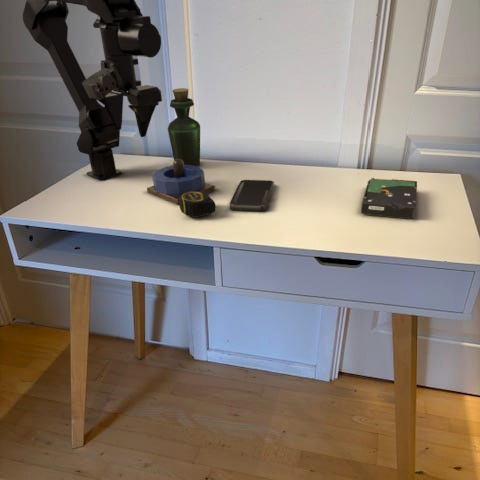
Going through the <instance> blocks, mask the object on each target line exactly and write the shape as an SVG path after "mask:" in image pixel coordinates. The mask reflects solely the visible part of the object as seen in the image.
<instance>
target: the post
mask: <svg viewBox="0 0 480 480" xmlns="http://www.w3.org/2000/svg"><path fill="white" fill-rule="evenodd" d="M172 166H173V169H174V178H182V177H185V170H184V162H183V161H182V160H181V159H175V160H174V159H173V162H172ZM200 191H206V192H207V194H210V193H213V192H215V191H216V185H214V184H211V183H209V182H206V181H205V185H204V186H203V188H202V189H201V190H198V191H196V192H200ZM146 192H147V194H150V195H152V196H155V197H157V198H159V199H162V200H165V201H167V202H170V203H173V204H175V205H177V206H179V200H180V197H181V196H182V195H166V194H162V193H159V192H157V191H156V190H155V188H154V185H151V186H147V187H146Z"/></svg>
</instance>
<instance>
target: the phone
mask: <svg viewBox="0 0 480 480" xmlns="http://www.w3.org/2000/svg"><path fill="white" fill-rule="evenodd" d="M274 188H275V181H274V180H268V179H267V180H265V179H242V180H240V181H239V183H238V186H237V187H236V189H235V192H234V193H233V195H232V197H231V200H230V202H229V209H230V210H232V211H247V212H265V211H267V210H268V207H269V203H270V201H271V197H272V194H273V192H274Z"/></svg>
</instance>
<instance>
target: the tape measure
mask: <svg viewBox="0 0 480 480" xmlns="http://www.w3.org/2000/svg"><path fill="white" fill-rule="evenodd" d="M178 206H179V210H180V211H181V213H182V214H183V215H185V216H187V217H193V218H194V217H195V218H199V217H203V216H206V215H209V214H213V213H215V212H216V210H217V205H216V202H215V201H214V199H213V198H211V197H210V195H209V193H207V192H206V191H200V192H188V193H185V194H183V195H182V196H181V197H180V200H179V205H178Z"/></svg>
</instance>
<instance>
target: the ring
mask: <svg viewBox="0 0 480 480" xmlns="http://www.w3.org/2000/svg"><path fill="white" fill-rule="evenodd" d="M184 170H185V177H182V178H174V169H173V165H166V166H163V167H160V168H158V169H156V170H155V171H154V172H153V173H152V174H151V175H152V182H153V186H154V188H155V190H156V191H157V192H159V193H162V194H166V195H183V194H185V193H188V192H196V191H198V190H201V189H202V188H203V186H204V185H205V182H206V180H205V170H204V169H202V167H200V166H198V167H197V166H193V165H184Z"/></svg>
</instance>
